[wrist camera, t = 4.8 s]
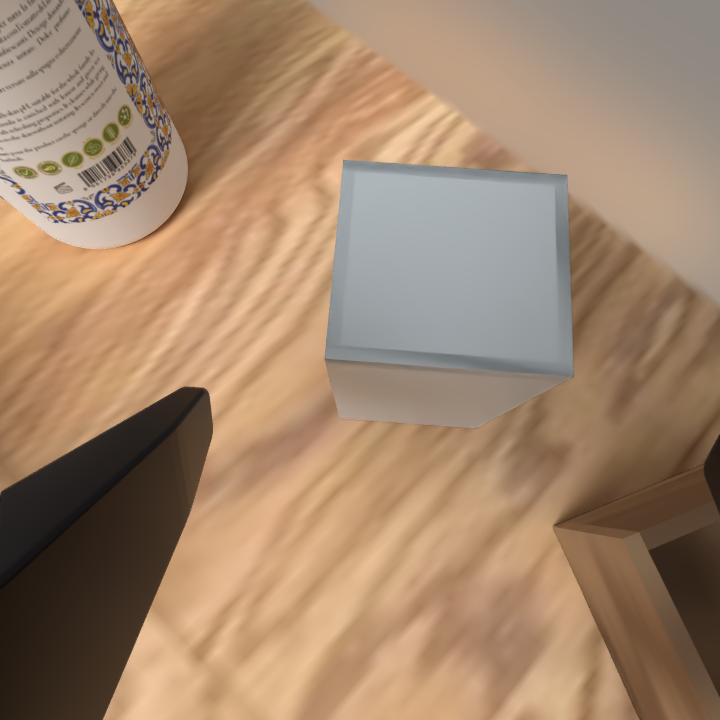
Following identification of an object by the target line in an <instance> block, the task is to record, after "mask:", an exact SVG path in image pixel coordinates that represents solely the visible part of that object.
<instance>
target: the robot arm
mask: <svg viewBox="0 0 720 720" xmlns="http://www.w3.org/2000/svg"><path fill="white" fill-rule="evenodd" d="M212 434H213V422H212V413H211V405H210V396H209V393H208V391H207V390H206V389H205V388H199V387H182V388H180V389H178V390H176V391H175V392H173V393H171V394H169V395H168V396H166V397H164V398H163V399H161V400H159V401H157V402H156V403H154V404H152V405H150V406H149V407H147V408H145V409H143V410H142V411H140V412H138V413H136V414H135V415H133V416H131V417H130V418H128V419H126V420H124V421H123V422H121V423H119V424H117V425H116V426H114V427H112V428H110V429H109V430H107V431H105V432H103V433H102V434H100V435H98V436H97V437H95V438H93V439H91V440H90V441H88V442H86V443H84V444H83V445H81V446H79V447H77V448H76V449H74V450H72V451H70V452H69V453H67V454H65V455H64V456H62V457H60V458H58V459H57V460H55V461H53V462H51V463H50V464H48V465H46V466H44V467H43V468H41V469H39V470H37V471H36V472H34V473H32V474H30V475H29V476H27V477H25V478H23V479H22V480H20V481H18V482H17V483H15V484H13V485H11V486H10V487H8V488H6V489H4V490H3V491H2V492H1V495H0V720H103V718H104V716H105V713H106V711H107V709H108V706H109V704H110V702H111V699H112V697H113V694H114V692H115V690H116V687H117V685H118V683H119V680H120V678H121V676H122V673H123V671H124V669H125V666H126V664H127V661H128V659H129V657H130V654H131V652H132V650H133V647H134V645H135V643H136V640H137V638H138V635H139V633H140V631H141V628H142V626H143V624H144V621H145V619H146V617H147V614H148V612H149V609H150V607H151V605H152V602H153V600H154V598H155V595H156V593H157V591H158V588H159V586H160V583H161V581H162V579H163V576H164V574H165V572H166V569H167V567H168V565H169V562H170V560H171V557H172V555H173V553H174V550H175V548H176V546H177V543H178V541H179V539H180V536H181V534H182V531H183V529H184V527H185V524H186V522H187V519H188V517H189V514H190V511H191V508H192V505H193V502H194V498H195V495H196V491H197V488H198V484H199V481H200V477H201V474H202V470H203V467H204V463H205V460H206V456H207V453H208V450H209V446H210V443H211V439H212ZM703 472H704V477H705V480H706V483H707V485H708V488H709V490H710V493H711V495H712V498H713V500H714V503H715V505H716V508H717V511H718V513H719V516H720V434H719V436H718V438H717V440H716V442H715V444H714V446H713V447H712V449H711V451H710V453H709V455H708V457H707V459H706V460H705V463H704V467H703Z"/></svg>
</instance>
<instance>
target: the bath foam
mask: <svg viewBox="0 0 720 720" xmlns="http://www.w3.org/2000/svg"><path fill="white" fill-rule="evenodd" d="M187 177H188V162H187V156H186V152H185V148H184V145H183V143H182V141H181V138H180V136H179V134H178V132H177V130H176V128H175V126H174V124H173V122H172V120H171V118H170V116H169V114H168V112H167V109H166V107H165V105H164V103H163V101H162V99H161V97H160V95H159V93H158V91H157V89H156V87H155V85H154V83H153V81H152V79H151V77H150V75H149V73H148V71H147V69H146V67H145V65H144V63H143V61H142V59H141V57H140V55H139V53H138V51H137V49H136V47H135V45H134V43H133V41H132V39H131V37H130V35H129V33H128V30H127V28H126V26H125V24H124V22H123V20H122V18H121V16H120V14H119V12H118V10H117V8H116V6H115V4H114V2H113V0H0V197H1V198H4V199H5V200H6V201H8V202H9V203H10V204H11V205H12V206H14V207H15V208H16V209H17V210H18V211H20V212H21V213H22V214H23V215H24V216H26V217H27V218H28V219H29V220H30V221H32V222H33V223H34V224H35V225H36V226H38V227H39V228H40V229H41V230H43V231H44V232H45V233H47V234H48V235H50V236H52V237H53V238H55V239H57V240H59V241H61V242H63V243H66V244H69V245H72V246H76V247H80V248H87V249H108V248H115V247H120V246H124V245H127V244H130V243H133V242H135V241H137V240H140V239H142V238H144V237H145V236H147V235H149V234H150V233H152V232H153V231H155V230H156V229H157V228H159V227H160V226H161V225H162V224H163V223H164V222H165V221H166V220H167V219H168V218H169V217H170V216H171V214H172V213H173V212H174V210H175V209H176V207H177V206H178V204H179V202H180V200H181V198H182V196H183V194H184V191H185V187H186V183H187Z"/></svg>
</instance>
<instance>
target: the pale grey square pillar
mask: <svg viewBox="0 0 720 720" xmlns="http://www.w3.org/2000/svg"><path fill="white" fill-rule="evenodd" d="M325 362H326V366H327V370H328V374H329V378H330V382H331V387H332V391H333V395H334V399H335V403H336V407H337V411H338V415H339V418H341V419H354V420H367V421H381V422H394V423H407V424H421V425H434V426H448V427H461V428H474V429H476V428H478V427H480V426H482V425H484V424H486V423H488V422H489V421H491V420H493V419H495V418H497V417H499V416H501V415H503V414H504V413H506V412H508V411H510V410H512V409H514V408H516V407H518V406H520V405H521V404H523V403H525V402H527V401H529V400H531V399H533V398H535V397H537V396H538V395H540V394H542V393H544V392H546V391H548V390H550V389H552V388H554V387H555V386H557V385H559V384H561V383H563V382H565V381H567V380H569V379H570V378H572V377H574V373H573V341H572V309H571V278H570V246H569V214H568V183H567V175H559V174H544V173H529V172H514V171H500V170H485V169H470V168H456V167H441V166H426V165H412V164H397V163H382V162H368V161H353V160H343V171H342V181H341V192H340V202H339V213H338V224H337V234H336V245H335V255H334V266H333V276H332V287H331V298H330V308H329V319H328V329H327V340H326V350H325Z"/></svg>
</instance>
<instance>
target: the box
mask: <svg viewBox="0 0 720 720" xmlns="http://www.w3.org/2000/svg"><path fill="white" fill-rule="evenodd" d="M703 467H704V464H703V465H701V466H698V467H696V468H693V469H691V470H688V471H686V472H684V473H681V474H679V475H676V476H674V477H672V478H669V479H667V480H664V481H662V482H659V483H657V484H655V485H652V486H650V487H647V488H645V489H643V490H640V491H638V492H635V493H633V494H631V495H628V496H626V497H623V498H621V499H618V500H616V501H614V502H611V503H609V504H606V505H604V506H602V507H599V508H597V509H594V510H592V511H589V512H587V513H585V514H582V515H580V516H577V517H575V518H573V519H570V520H568V521H565V522H563V523H560V524H558V525H556V526H553V528H554V531H555V533H556V535H557V537H558V539H559V542H560V544H561V546H562V548H563V551H564V553H565V555H566V557H567V559H568V562H569V564H570V566H571V568H572V570H573V573H574V575H575V577H576V579H577V582H578V584H579V586H580V588H581V590H582V593H583V595H584V597H585V599H586V602H587V604H588V606H589V608H590V610H591V613H592V615H593V617H594V619H595V622H596V624H597V626H598V628H599V630H600V633H601V635H602V637H603V639H604V642H605V644H606V646H607V648H608V650H609V653H610V655H611V657H612V659H613V662H614V664H615V666H616V668H617V670H618V673H619V675H620V677H621V679H622V682H623V684H624V686H625V688H626V690H627V693H628V695H629V697H630V699H631V701H632V704H633V706H634V708H635V710H636V713H637V715H638V717H639V719H640V720H720V516H719V513H718V511H717V508H716V505H715V503H714V500H713V498H712V495H711V493H710V490H709V488H708V485H707V483H706V480H705V477H704V472H703Z"/></svg>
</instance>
